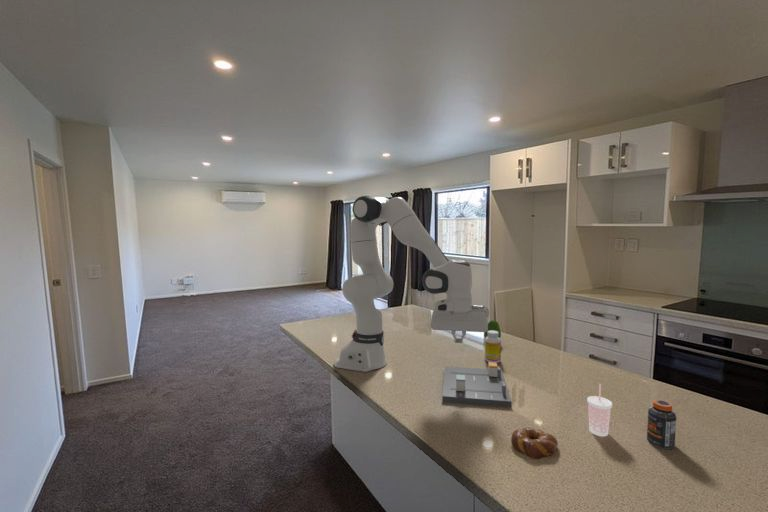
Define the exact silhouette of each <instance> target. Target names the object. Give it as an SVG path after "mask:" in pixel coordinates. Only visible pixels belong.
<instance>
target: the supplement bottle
mask: <svg viewBox="0 0 768 512" xmlns="http://www.w3.org/2000/svg"><path fill="white" fill-rule="evenodd" d="M487 334H488V336H487V337H486V338H485V337H484V361H486V362H487V363H488V362H496V363H497V364H499V363H500V362H501V360H502V359H501V358H502V355H501V354H502V353H501V350H502V348H501V346H502V339H501V337H500V338H499V337H498V335H499V332H498V331H494V330H490V331H487Z"/></svg>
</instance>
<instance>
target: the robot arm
mask: <svg viewBox="0 0 768 512" xmlns="http://www.w3.org/2000/svg"><path fill="white" fill-rule="evenodd" d="M352 214H353V216H354V218H352V220H351V222H350V228H349V229H350V230H349V232H350V235H349V236H350V238H349V239H350V248H351V255H352V256H351V257H352V260H353V263H354V264H355V265H358V266H359V268H360V270H361V271H362V274H359V275H353V276H352V277H350V278H347V279H345V280H344V282H343V284H342V290H341V291H342V295H343V297H344V298H345V300H347V302H349V303H350V304H351V305H352V307H353V310H354V313H355V318H356V319H355V320H356V328H355V329H354V330H353V332H352V334H351V338H352V339H351V340H350V341H348V343H346V344H345V345H344V346H342V349H340V353H339V356H338V357H337V358H336V359H335V360H334V364H333V365H334V367H335V368H339V369H344V370H350V371H357V372H364V373H366V372H367V373H368V372H370V371H373V370H377V369H382V368H383V367H385V366H386V365H387V363H388V362H387V358H386V355H385V350H384V349H385V348H384V343H385V335H384V330H383V313H382V312H381V311H380V310H379V309H378V308H376V305H375V303H374V302H375V301H374V300H375V299H380V298H384V297H385V296H387V295H388V294H390V293H391V292H393V288H394V280H393V277H392V276H391V275H390V274H388V273H387V272H386V270H385V269H384V267H383V265H382V262H381V259H380V256H379V250H378V249H379V248H378V241H377V234H376V230H377V227H378V226H380V227H383V226H384V225H386V224H388V226H389V227H390V229H391V230H392V233H393V234H394V236H395V237H396V238H397V240H398V241H399V242H400V243H401V244H403V245H405V246H408V247H412V248H415V249H416V250H418V251H421V253H423V255H425V257H426V258H427V260H428V261H429V262H430V264H431V266H432V268H430V269H427V270H426V271H425V272H424V274H423V275H422V279H421V280H422V281H421V282H422V286H423V288H424V290H425V291H426V292H427V293H429V294H431V295H432V294H433V295H438V294H446V298H444V299H441V300H437V301H435V302H434V309H433V310H432V313H431V319H430V329H431V330H433V331H448V332H450V331H451V335H452V337H453V338H454V341H453V342H454V343H455V344H456V343H457V344H458V343H459V344H463V343H464V338H465V337H466V335H467V332H471V333H484V332H486V331H487V330H488V323H489V322H488V317H490V309H489V308H488V307H486V306H485V305H476V304H475V305H474V304H473V303H472V302H473V299H472V298H473V295H472V286H473V273H472V267H471V264H470V263H469V262H467V261H466V260H463V259H455V258H454V259H453V258H452V259H448V258H447V256H446V255H445V253H444V252H443V250H442V249H441V248H440V246H439V245H438V244H437V243H436V241H435V240H434V238H433V237H432V236H431V235H430V233H429V232H428V231H427V230H426V228H425V227H424V225H423V224H422V222H421V221H420V219H419V217H418V215H416V213H415V211H414V210H413V209H412V207H411V206H410V204H409V203H408V202H407V201H406V200H405V199H404V198H403V197H401V196H395V197H392V198H389V197H384V196H380V195H362V196H359V197H357V198H356V199H355V200H354V202H353V204H352ZM456 332H461V336H456Z"/></svg>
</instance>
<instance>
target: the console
mask: <svg viewBox="0 0 768 512" xmlns="http://www.w3.org/2000/svg"><path fill="white" fill-rule="evenodd" d="M456 375H465V391H456ZM507 385H508V384H507V382H506V380H505V377H504V373H503V369H501V366H498V376H497V377H492V376H489V373H488V368H475V367H474V368H473V367H458V366H444V375H443V386H442V387H443V388H442V403H452V404H453V403H454V404H465V405H466V404H467V405H476V406H478V405H479V406H491V407H499V406H500V407H502V408H511V407H513V406H512V404H513V402H512V398H511V394H510V392H509V389H508V386H507Z"/></svg>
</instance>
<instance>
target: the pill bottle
mask: <svg viewBox="0 0 768 512" xmlns="http://www.w3.org/2000/svg"><path fill="white" fill-rule="evenodd" d="M676 429H677V415H676V413H675V412H674V411H673V404H672V403H671V402H669V401H667V400H663V399H654V400H653V401H652V406H650V407H649V408H648V411H647V429H646V440H647V441H648V443H649V444H651V445H652V446H654V447H656V448H659V449H663V450H672V449H674V448H675V446H676Z"/></svg>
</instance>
